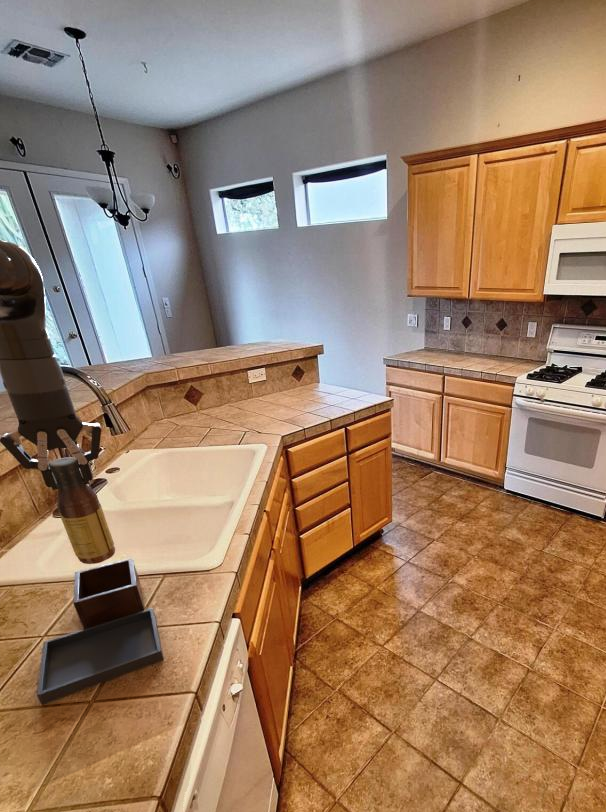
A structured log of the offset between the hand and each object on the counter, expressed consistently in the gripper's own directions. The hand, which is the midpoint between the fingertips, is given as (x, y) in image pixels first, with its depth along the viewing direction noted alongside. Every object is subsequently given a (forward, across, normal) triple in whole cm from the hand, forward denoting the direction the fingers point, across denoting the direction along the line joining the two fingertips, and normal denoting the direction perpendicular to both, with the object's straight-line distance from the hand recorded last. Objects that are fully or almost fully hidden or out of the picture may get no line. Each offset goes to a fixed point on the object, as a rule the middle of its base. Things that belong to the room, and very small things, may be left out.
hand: (71, 484), depth 75 cm
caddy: (+27, 0, 0) cm, 27 cm away
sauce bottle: (+15, 0, 0) cm, 15 cm away
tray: (+27, +2, +14) cm, 31 cm away
